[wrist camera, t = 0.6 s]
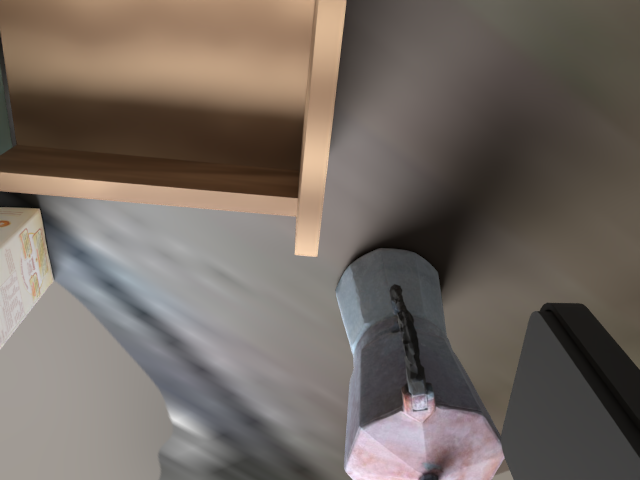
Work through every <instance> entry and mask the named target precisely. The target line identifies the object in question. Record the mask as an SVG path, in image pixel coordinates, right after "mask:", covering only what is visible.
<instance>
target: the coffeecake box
mask: <svg viewBox="0 0 640 480" xmlns="http://www.w3.org/2000/svg"><path fill="white" fill-rule="evenodd" d="M53 282H54V279H53V274H52V269H51V264H50V259H49V256H48V251H47V245H46V240H45V232H44V227H43V221H42V217H41V212H40V209H36V208H12V207H0V349H1V348H2V347H3V345H4V344H5V343H6V341H7V340H8V339H9V338H10V336H11V335H12V334H13V333H14V331H15V330H16V328H17V327H18V326H19V325H20V323H21V322H22V321H23V319H24V318H25V317H26V316H27V315H28V313H29V312H30V310H31V309H32V308H33V307H34V305H35V304H36V303H37V302H38V301H39V299H40V298H41V297H42V295H43V294H44V293H45V291H46V290H47V289H48V287H49V286H50V285H51V284H52V283H53Z"/></svg>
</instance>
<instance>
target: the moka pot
mask: <svg viewBox="0 0 640 480" xmlns="http://www.w3.org/2000/svg"><path fill="white" fill-rule="evenodd" d="M336 296H337V300H338V304H339V308H340V311H341V315H342V319H343V323H344V326H345V329H346V333H347V336H348V339H349V343H350V346H351V350H352V353H353V356H354V358H353V361H354V370H353V373H352V376H351V380H350V385H349V401H348V415H347V430H346V443H345V459H344V468H345V471H346V473H347V474H348V475H349V476H350V477H351V478H352V479H353V480H492V478H493V476H494V474H495V473H496V471H497V469H498V468H499V466H500V465H501V463H502V461H503V459H504V458H505V457H504V454H503V451H502V445H501V436H500V434H499V432H498V430H497V428H496V427H495V425H494V423H493V421H492V419H491V417H490V415H489V413H488V412H487V410H486V408H485V406H484V404H483V402H482V401H481V399H480V397H479V395H478V393H477V391H476V390H475V388H474V386H473V384H472V382H471V380H470V378H469V376H468V375H467V373H466V371H465V369H464V368H463V366H462V364H461V363H460V361H459V359H458V358H457V356H456V355H455V353H454V352H453V350H452V348H451V345H450V342H449V339H448V338H447V335H446V327H445V320H444V312H443V304H442V297H441V290H440V283H439V276H438V272H437V271H436V270H435V268H434V267H433V266H432V265H431V264H430V263H429V262H428V261H426V260H425V259H424V258H422V257H421V256H419V255H418V254H416V253H414V252H411V251H407V250H399V249H386V248H380V249H377V250H374V251H371V252H369V253H368V254H365V255H363V256H362V257H360V258H358V259H357V260H356V261H354V262H353V263H352V264H350V265H349V266H348V267H347V269H346V270H345V272H344V274H343V276H342V277H341V279H340V281H339V283H338V286H337V287H336Z"/></svg>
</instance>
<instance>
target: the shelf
mask: <svg viewBox="0 0 640 480" xmlns="http://www.w3.org/2000/svg"><path fill="white" fill-rule="evenodd" d="M345 9H346V0H0V32H1V39H2V46H3V53H4V60H5V67H6V74H7V81H8V88H9V95H10V102H11V109H12V116H13V123H14V130H15V137H16V144H17V145H16V146H14V147H13V148H11V149H9V150H8V151H6V152H5V153H3V154H2V155H0V191H5V192H17V193H28V194H40V195H52V196H63V197H75V198H87V199H98V200H110V201H122V202H133V203H145V204H157V205H168V206H180V207H191V208H203V209H215V210H226V211H238V212H250V213H261V214H273V215H285V216H296V237H295V255H302V256H314V257H317V253H318V244H319V235H320V227H321V218H322V209H323V201H324V192H325V183H326V175H327V166H328V157H329V148H330V140H331V131H332V122H333V114H334V105H335V96H336V87H337V79H338V70H339V61H340V53H341V44H342V35H343V26H344V18H345Z"/></svg>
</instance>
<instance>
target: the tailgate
mask: <svg viewBox="0 0 640 480" xmlns="http://www.w3.org/2000/svg"><path fill="white" fill-rule="evenodd" d="M11 148H12V141H11V134H10V127H9V121H8V114H7V107H6V100H5V94H4V87H3V80H2V73H1V66H0V155H2V154H3V153H5V152H6V151H8V150H9V149H11Z"/></svg>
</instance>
